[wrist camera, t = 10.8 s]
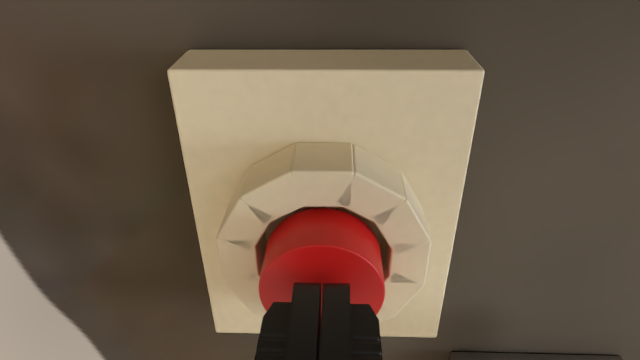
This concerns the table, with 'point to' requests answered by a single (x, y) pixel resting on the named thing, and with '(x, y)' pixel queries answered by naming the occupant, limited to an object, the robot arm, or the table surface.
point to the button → (323, 257)
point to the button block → (327, 163)
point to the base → (526, 356)
